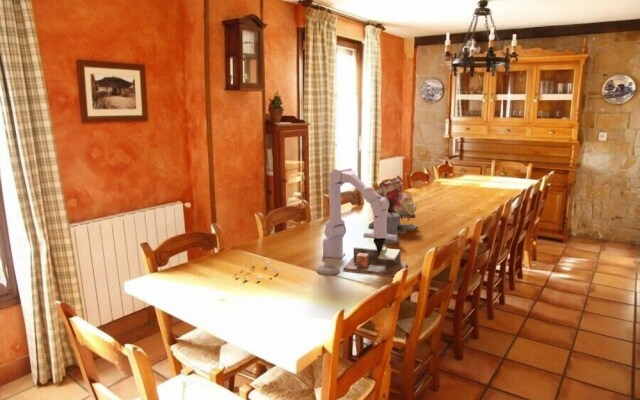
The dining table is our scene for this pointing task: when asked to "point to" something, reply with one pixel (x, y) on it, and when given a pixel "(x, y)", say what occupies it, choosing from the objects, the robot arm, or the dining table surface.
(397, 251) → the sliding lid
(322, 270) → the saucer
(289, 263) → the dining table surface
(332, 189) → the robot arm
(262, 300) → the dining table surface
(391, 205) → the rose bouquet
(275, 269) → the game piece set
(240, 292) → the dining table surface
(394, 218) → the coffeepot
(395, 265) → the puzzle board
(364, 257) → the block
